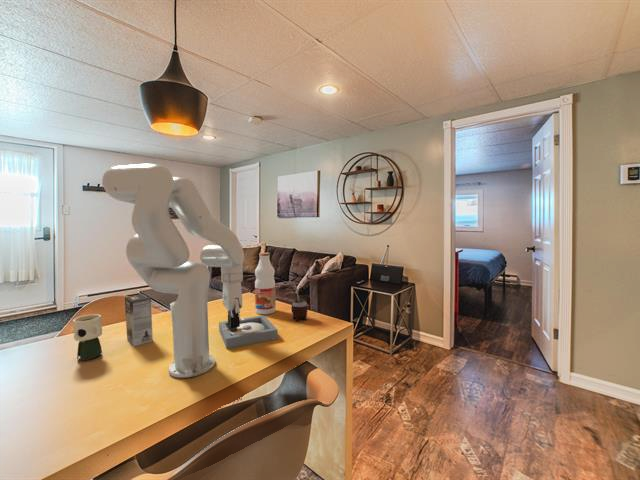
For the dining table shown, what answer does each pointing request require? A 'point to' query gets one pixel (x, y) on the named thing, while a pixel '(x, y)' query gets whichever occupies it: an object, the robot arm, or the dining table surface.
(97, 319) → the character mug
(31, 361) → the dining table surface
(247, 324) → the dial
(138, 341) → the coffee box
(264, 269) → the fruit juice
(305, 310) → the mate gourd
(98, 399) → the dining table surface
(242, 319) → the housing
